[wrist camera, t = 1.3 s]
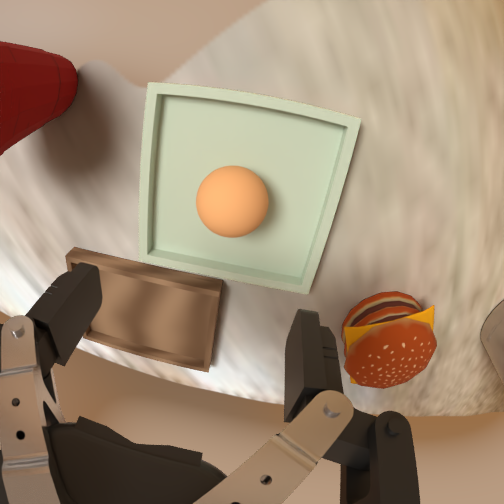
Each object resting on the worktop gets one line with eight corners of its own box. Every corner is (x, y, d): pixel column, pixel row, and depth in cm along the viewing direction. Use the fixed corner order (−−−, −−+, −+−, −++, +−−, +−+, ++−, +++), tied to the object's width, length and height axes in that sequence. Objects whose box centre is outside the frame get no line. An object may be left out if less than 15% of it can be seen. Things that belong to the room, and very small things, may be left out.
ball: (275, 165, 22) (274, 185, 18) (262, 225, 25) (258, 257, 20) (209, 153, 22) (191, 170, 18) (201, 213, 25) (184, 242, 20)
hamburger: (331, 302, 29) (340, 353, 23) (423, 278, 27) (449, 323, 21) (343, 362, 33) (350, 409, 27) (421, 341, 31) (437, 385, 25)
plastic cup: (9, 128, 22) (-80, 167, 12) (34, 27, 17) (-64, 30, 6) (82, 160, 24) (-14, 217, 13) (119, 43, 18) (12, 33, 8)
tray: (222, 280, 28) (219, 291, 27) (211, 360, 35) (208, 372, 33) (74, 246, 28) (65, 255, 27) (89, 328, 34) (83, 337, 33)
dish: (355, 116, 20) (361, 119, 19) (306, 282, 28) (307, 294, 26) (157, 82, 20) (148, 82, 18) (146, 250, 28) (138, 260, 26)
